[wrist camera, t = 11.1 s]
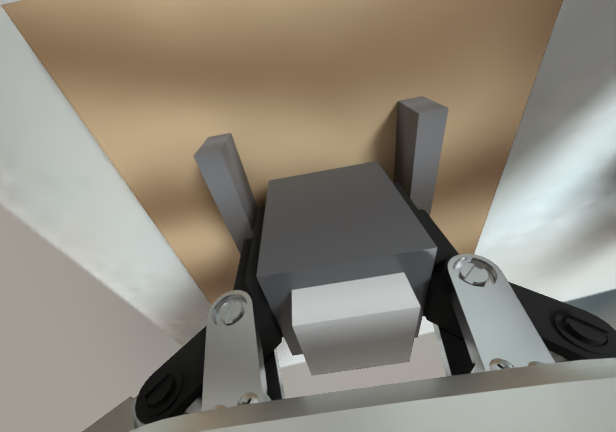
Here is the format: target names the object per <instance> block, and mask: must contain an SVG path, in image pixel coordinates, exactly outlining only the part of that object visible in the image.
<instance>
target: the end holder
mask: <svg viewBox="0 0 616 432" xmlns="http://www.w3.org/2000/svg"><path fill="white" fill-rule="evenodd" d="M562 2H563V0H22V1H18V2H13V3H9V4H5V5H1V6H2V7H3V9H4V10H5V12H6V13H7V15H8V16H9V17H10V19H11V20H12V22H13V23H14V24H15V26H16V27H17V29H18V30H19V32H20V33H21V34H22V36H23V37H24V39H25V40H26V42H27V43H28V44H29V46H30V47H31V49H32V50H33V52H34V53H35V54H36V56H37V57H38V59H39V60H40V61H41V63H42V64H43V66H44V67H45V69H46V70H47V71H48V73H49V74H50V76H51V77H52V79H53V80H54V81H55V83H56V84H57V86H58V87H59V88H60V90H61V91H62V93H63V94H64V96H65V97H66V98H67V100H68V101H69V103H70V104H71V106H72V107H73V108H74V110H75V111H76V113H77V114H78V116H79V117H80V118H81V120H82V121H83V123H84V124H85V125H86V127H87V128H88V130H89V131H90V133H91V134H92V135H93V137H94V138H95V140H96V141H97V143H98V144H99V145H100V147H101V148H102V150H103V151H104V152H105V154H106V155H107V157H108V158H109V160H110V161H111V162H112V164H113V165H114V167H115V168H116V170H117V171H118V172H119V174H120V175H121V177H122V178H123V180H124V181H125V182H126V184H127V185H128V187H129V188H130V189H131V191H132V192H133V194H134V195H135V197H136V198H137V199H138V201H139V202H140V204H141V205H142V207H143V208H144V209H145V211H146V212H147V214H148V215H149V216H150V218H151V219H152V221H153V222H154V224H155V225H156V226H157V228H158V229H159V231H160V232H161V234H162V235H163V236H164V238H165V239H166V241H167V242H168V244H169V245H170V246H171V248H172V249H173V251H174V252H175V253H176V255H177V256H178V258H179V259H180V261H181V262H182V263H183V265H184V266H185V268H186V269H187V271H188V272H189V273H190V275H191V276H192V278H193V279H194V280H195V282H196V283H197V285H198V286H199V288H200V289H201V290H202V292H203V293H204V295H205V296H206V298H207V299H208V300H209V302H210V303H211V305H212V304H213V303H214V302H215V301H216V299H217V298H219V297H220V296H221V295H223V294H225V293H227V292H229V291H233V289H234V284H235V279H236V275H237V270H238V265H239V261H240V256H241V251H242V247H243V243H244V240H245V239H249V238H253V233H254V227H255V221H256V215H257V210H258V207H259V206H264V205H266V199H267V191H268V183H269V180H274V179H280V178H285V177H291V176H296V175H302V174H307V173H313V172H318V171H324V170H329V169H335V168H341V167H346V166H352V165H357V164H363V163H368V162H374V161H378V163H379V164H380V166H381V167H382V168H383V170H384V171H385V173H386V174H387V176H388V177H389V178H390V180H391V181H392V183H396V182H398V183H399V184H400V185H401V187H402V188H403V189H404V191H405V192H406V193H407V195H408V196H409V198H410V199H411V200H412V202H413V203H414V204H415V206H416V207H417V208H418V210H420V209H423V210H425V211H426V212H427V213H428V215H429V216H430V217H431V218H432V220H433V221H434V222H435V224H436V225H437V226H438V228H439V229H440V230H441V231H442V233H443V234H444V235H445V237H446V238H447V239H448V240H449V242H450V243H451V244H452V246H453V247H454V248H455V250H456V251H457V252H458V253H459V254H474V252H475V249H476V247H477V244H478V241H479V238H480V235H481V232H482V230H483V227H484V224H485V221H486V218H487V215H488V212H489V210H490V207H491V204H492V201H493V198H494V195H495V192H496V190H497V187H498V184H499V181H500V178H501V175H502V173H503V170H504V167H505V164H506V161H507V158H508V155H509V153H510V150H511V147H512V144H513V141H514V138H515V136H516V133H517V130H518V127H519V124H520V121H521V118H522V116H523V113H524V110H525V107H526V104H527V101H528V98H529V96H530V93H531V90H532V87H533V84H534V81H535V79H536V76H537V73H538V70H539V67H540V64H541V61H542V59H543V56H544V53H545V50H546V47H547V44H548V42H549V39H550V36H551V33H552V30H553V27H554V24H555V22H556V19H557V16H558V13H559V10H560V7H561V4H562Z"/></svg>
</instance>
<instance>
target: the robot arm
mask: <svg viewBox="0 0 616 432" xmlns="http://www.w3.org/2000/svg"><path fill="white" fill-rule="evenodd" d="M393 184H394V186H395V187H396V189H397V190H398V191H399V193H400V194H401V196H402V197H403V199H404V200H405V201H406V203H407V204H408V206H409V207H410V209H411V210H412V212H413V213H414V214H415V216H416V217H417V219H418V220H419V222H420V223H421V224H422V226H423V227H424V229H425V230H426V232H427V233H428V235H429V236H430V237H431V239H432V240H433V242H434V243H435V245H436V246H437V252H436V256H435V261H434V265H433V270H432V274H431V279H430V284H429V288H428V293H427V297H426V302H425V306H424V311H423V315H422V316H425V317H426V319H427V320H428V321H430V322H432V323H433V326H434V330H435V334H436V338H437V341H438V346H439V349H440V353H441V357H442V361H443V365H444V369H445V373H446V377H440V378H433V379H426V380H418V381H411V382H404V383H397V384H389V385H381V386H375V387H367V388H360V389H352V390H345V391H338V392H330V393H323V394H316V395H310V396H302V397H296V398H289V399H285V395H284V389H283V383H282V377H281V373H280V366H279V360H278V355H277V349H276V347H277V346H278V345H279V344H280V343H281V342H282V337H284V336H283V334H282V331H281V329H280V327H279V325H278V323H277V321H276V318H275V316H274V314H273V312H272V310H271V308H270V305H269V303H268V301H267V299H266V297H265V295H264V292H263V290H262V288H261V286H260V284H259V282H258V279H257V277H256V275H257V268H258V260H259V252H260V245H261V237H262V229H263V222H264V214H265V206H266V205H264V206H259V207H258V210H257V215H256V221H255V227H254V233H253V238H249V239H245V240H244V243H243V247H242V251H241V256H240V261H239V265H238V270H237V275H236V279H235V284H234V289H233V291H229V292H227V293H225V294H223V295H221V296H220V297H219V298H217V299H216V301H215V302H214V303H213V304H212V305H211V307H210V309H209V311H208V316H207V326H206V327H204V328H203V329H202V330H201V331H200V332H199V333H198V334H197V335H196V336H194V337H193V338H192V339H191V340H190V341H189V342H188V343H187V344H186V345H184V346H183V347H182V348H181V349H180V350H179V351H178V352H177V353H175V355H173V356H172V357H171V358H170V359H169V360H168V361H167V362H165V363H164V364H163V365H162V366H161V367H160V368H159V369H158V370H157V371H155V372H154V373H153V374H152V375H151V376H150V377H149V379H148V380H147V381H146V382H145V384H144V385H143V387H142V388H141V390H140V392H139V395H138V396H136V397H135V398H132V397H129V398H128V399H126V400H125V401H124V402H122V403H121V404H119V405H118V406H117V407H115V408H114V409H113V410H111V411H110V412H109V413H107V414H106V415H105V416H103V417H102V418H100V419H99V420H98V421H96V422H95V423H94V424H93V425H91V426H89V427H88V428H87V429H85V430H84V431H83V432H616V330H614V329H613V328H612V327H611V326H610V325H609V324H608V323H606V322H605V321H603V320H602V319H600V318H599V317H597V316H595V315H593V314H591V313H589V312H587V311H584V310H582V309H579V308H577V307H574V306H571V305H569V304H566V303H563V302H561V301H558V300H555V299H553V298H550V297H547V296H545V295H542V294H539V293H537V292H534V291H531V290H529V289H526V288H523V287H521V286H518V285H516V284H513V283H510V282H508V281H507V279H506V278H505V276H504V274H503V272H502V271H501V270H500V268H499V267H498V266H497V265H496V264H494V263H493V262H492V261H490V260H488V259H486V258H484V257H482V256H478V255H475V254H459V253H458V252H457V251H456V250H455V248H454V247H453V246H452V244H451V243H450V242H449V240H448V239H447V238H446V237H445V235H444V234H443V233H442V231H441V230H440V229H439V228H438V226H437V225H436V224H435V222H434V221H433V220H432V218H431V217H430V216H429V215H428V213H427V212H426V211H425V210H423V209H420V210H418V208H417V207H416V206H415V204H414V203H413V202H412V200H411V199H410V198H409V196H408V195H407V193H406V192H405V191H404V189H403V188H402V187H401V185H400V184H399V183H398V182H396V183H393Z"/></svg>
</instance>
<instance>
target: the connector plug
mask: <svg viewBox="0 0 616 432" xmlns="http://www.w3.org/2000/svg"><path fill="white" fill-rule="evenodd" d="M436 252H437V246H436V245H435V243H434V242H433V240H432V239H431V237H430V236H429V235H428V233H427V232H426V230H425V229H424V227H423V226H422V224H421V223H420V222H419V220H418V219H417V217H416V216H415V214H414V213H413V212H412V210H411V209H410V207H409V206H408V204H407V203H406V201H405V200H404V199H403V197H402V196H401V194H400V193H399V191H398V190H397V189H396V187H395V186H394V184H393V183H392V181H391V180H390V178H389V177H388V176H387V174H386V173H385V171H384V170H383V168H382V167H381V166H380V164H379V163H378V161H374V162H368V163H363V164H357V165H352V166H346V167H341V168H335V169H329V170H324V171H318V172H313V173H307V174H302V175H296V176H291V177H285V178H280V179H274V180H269V183H268V191H267V199H266V206H265V214H264V222H263V229H262V237H261V245H260V252H259V260H258V268H257V275H256V277H257V279H258V282H259V284H260V286H261V288H262V290H263V292H264V295H265V297H266V299H267V301H268V303H269V305H270V308H271V310H272V312H273V314H274V316H275V318H276V321H277V323H278V325H279V327H280V329H281V331H282V334H283V336H284V338H285V340H286V342H287V344H288V347H289V349H290V351H291V353H292V355H299V354H304V357H305V359H306V362H307V364H308V367H309V369H310V372H311V374H312V375H319V374H326V373H333V372H340V371H347V370H354V369H362V368H369V367H376V366H383V365H390V364H397V363H404V362H409V361H410V356H411V352H412V347H413V342H414V338H415V337H418V334H419V329H420V325H421V320H422V315H423V311H424V306H425V302H426V297H427V293H428V288H429V284H430V279H431V274H432V270H433V265H434V261H435V256H436Z"/></svg>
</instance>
